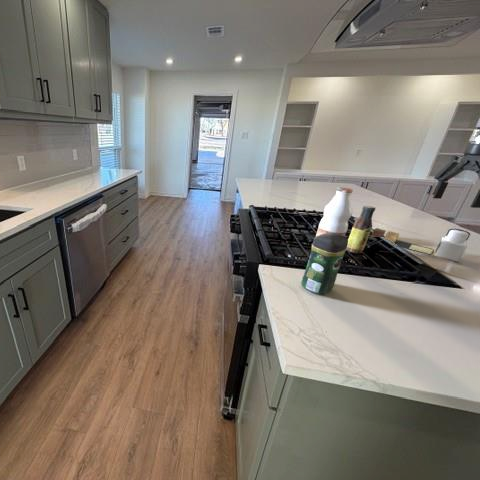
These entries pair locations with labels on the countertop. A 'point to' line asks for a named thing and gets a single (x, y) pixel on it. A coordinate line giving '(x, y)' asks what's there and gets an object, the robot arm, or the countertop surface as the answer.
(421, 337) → the countertop surface
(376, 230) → the walnut letter tile
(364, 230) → the sauce bottle
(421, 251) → the word mat
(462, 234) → the medicine bottle
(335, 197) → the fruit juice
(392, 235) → the maple letter tile
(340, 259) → the coffee jar
